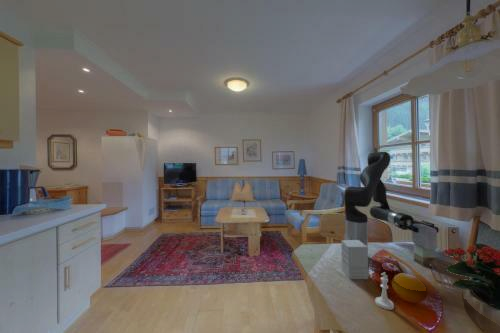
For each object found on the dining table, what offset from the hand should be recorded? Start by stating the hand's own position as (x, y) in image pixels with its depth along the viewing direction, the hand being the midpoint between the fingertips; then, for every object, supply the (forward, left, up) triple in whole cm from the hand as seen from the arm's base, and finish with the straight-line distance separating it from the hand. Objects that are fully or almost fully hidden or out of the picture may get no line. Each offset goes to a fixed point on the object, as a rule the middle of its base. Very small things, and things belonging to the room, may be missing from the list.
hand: (427, 230), depth 86 cm
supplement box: (-35, -7, -16) cm, 39 cm away
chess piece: (-34, -24, -15) cm, 44 cm away
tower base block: (0, +2, -15) cm, 15 cm away
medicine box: (0, +2, -8) cm, 8 cm away
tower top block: (0, +2, -11) cm, 11 cm away
